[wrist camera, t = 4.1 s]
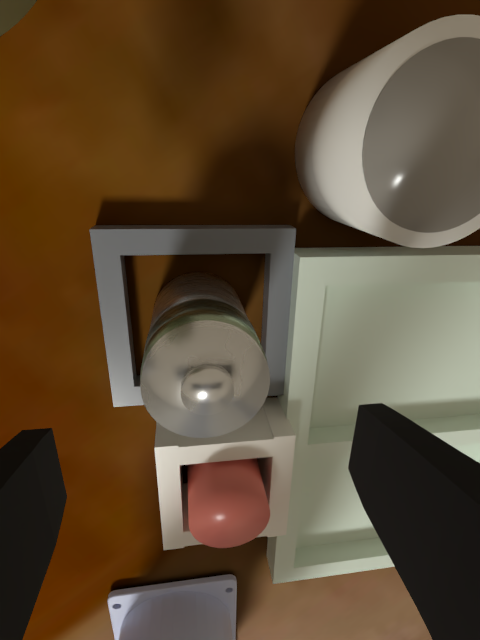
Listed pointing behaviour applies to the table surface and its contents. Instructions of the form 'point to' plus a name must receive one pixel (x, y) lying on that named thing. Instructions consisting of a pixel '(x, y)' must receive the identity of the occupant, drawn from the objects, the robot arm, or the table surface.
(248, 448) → the frame
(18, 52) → the table surface
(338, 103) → the cup
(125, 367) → the cradle
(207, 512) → the button
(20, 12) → the piston
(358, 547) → the trough tray
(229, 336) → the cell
